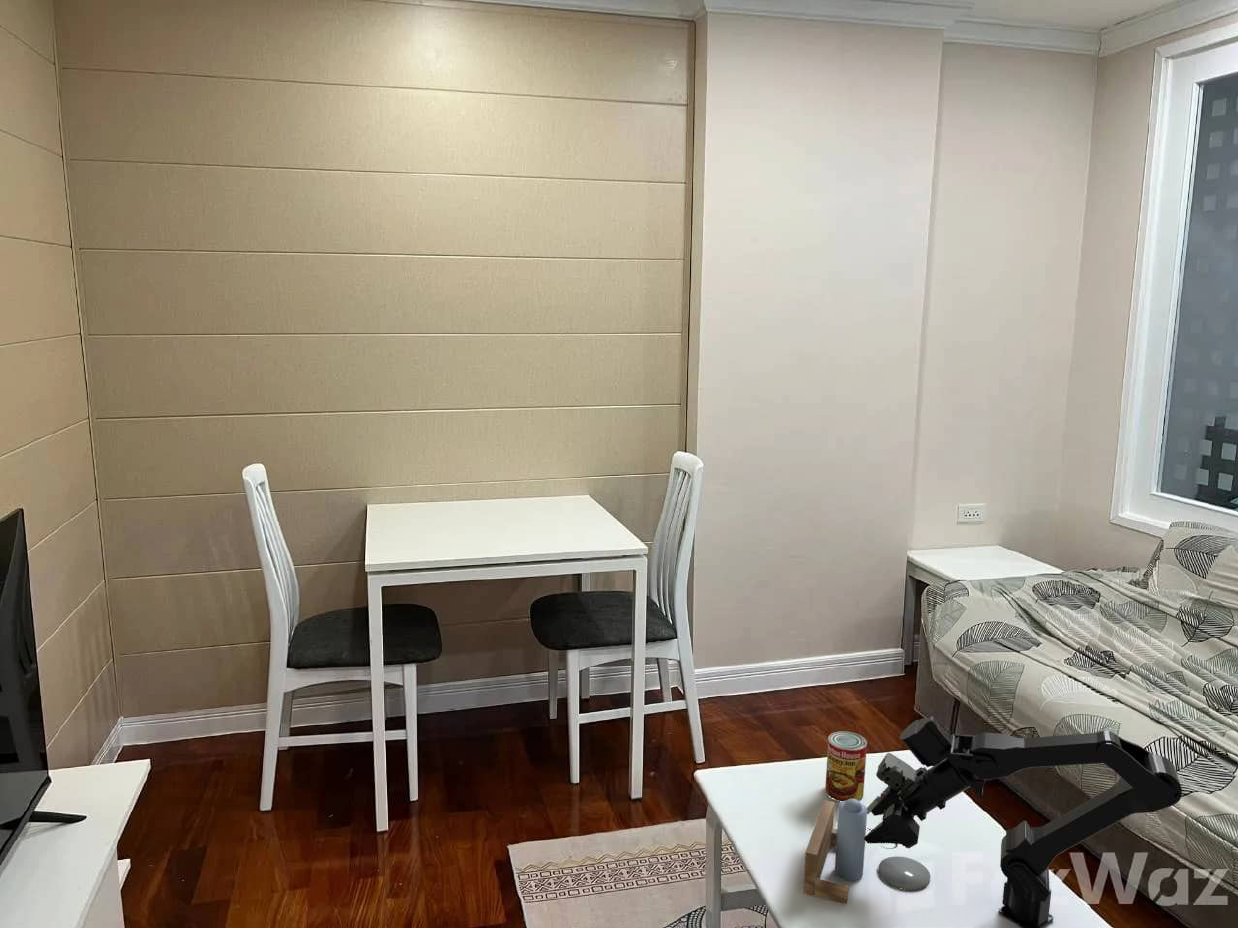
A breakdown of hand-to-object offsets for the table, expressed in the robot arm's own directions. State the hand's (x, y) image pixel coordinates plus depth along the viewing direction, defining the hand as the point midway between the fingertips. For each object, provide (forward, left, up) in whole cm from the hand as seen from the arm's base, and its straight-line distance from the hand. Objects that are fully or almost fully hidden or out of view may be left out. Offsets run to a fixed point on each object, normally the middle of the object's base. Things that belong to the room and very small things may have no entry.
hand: (869, 826), depth 166 cm
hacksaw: (+11, -20, -11) cm, 25 cm away
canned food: (+22, -18, -10) cm, 30 cm away
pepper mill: (+3, +2, -10) cm, 11 cm away
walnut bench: (+5, +3, -10) cm, 12 cm away
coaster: (-3, -6, -10) cm, 12 cm away
